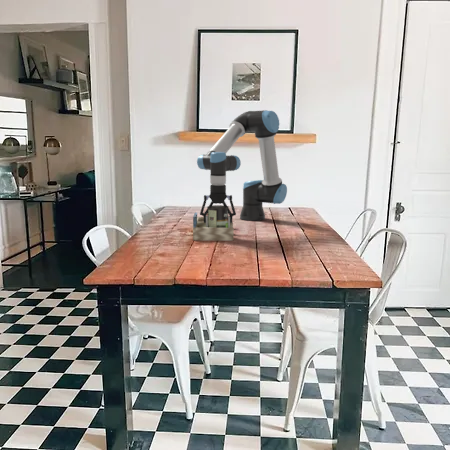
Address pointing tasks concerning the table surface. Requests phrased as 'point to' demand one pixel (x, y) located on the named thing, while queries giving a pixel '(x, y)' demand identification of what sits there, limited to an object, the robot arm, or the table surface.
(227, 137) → the robot arm
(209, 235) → the organizer
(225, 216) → the coffee can
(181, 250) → the table surface
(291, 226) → the table surface
